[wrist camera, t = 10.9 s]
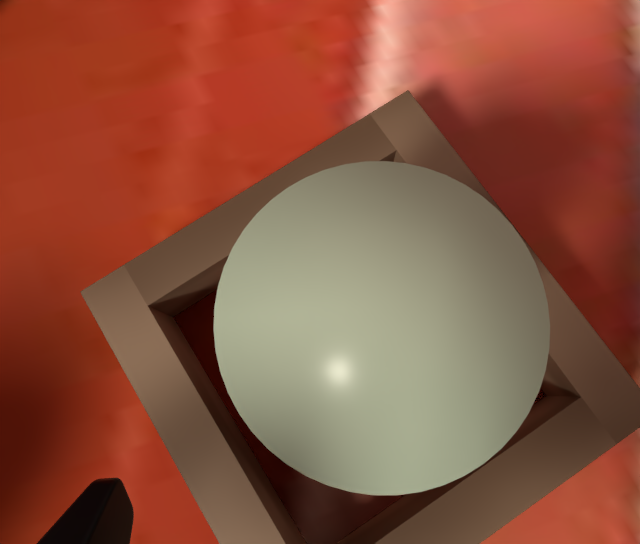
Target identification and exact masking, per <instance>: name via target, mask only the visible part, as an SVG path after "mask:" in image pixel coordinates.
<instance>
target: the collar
mask: <svg viewBox="0 0 640 544" xmlns="http://www.w3.org/2000/svg"><path fill="white" fill-rule="evenodd" d="M365 161H389V162H399V163H407V164H411V165H416V166H420V167H425V168H428V169H431V170H434V171H436V172H439V173H442V174H445V175H447V176H449V177H451V178H453V179H455V180H457V181H459V182H461V183H463V184H465V185H466V186H468V187H469V188H471V189H472V190H474V191H475V192H477V193H478V194H480V195H481V196H483V197H484V198H485V199H486V200H487V201H488V202H490V203H491V204H492V205H493V206H494V207H495V208H497V209H498V210H499V211H500V212H501V214H502V215H503V216H504V217H505V218H506V219H507V220H508V221H509V219H508V218H507V217H506V216H505V214H504V213H503V212H502V210H501V209H500V208H499V207H498V205H497V204H496V203H495V201H494V200H493V199H492V197H491V196H490V195H489V194H488V192H487V191H486V190H485V188H484V187H483V186H482V185H481V183H480V182H479V181H478V179H477V178H476V177H475V176H474V174H473V173H472V172H471V170H470V169H469V168H468V167H467V165H466V164H465V163H464V161H463V160H462V159H461V158H460V156H459V155H458V154H457V152H456V151H455V150H454V149H453V147H452V146H451V145H450V143H449V142H448V141H447V140H446V138H445V137H444V136H443V134H442V133H441V132H440V131H439V129H438V128H437V127H436V125H435V124H434V123H433V122H432V120H431V119H430V118H429V116H428V115H427V114H426V113H425V111H424V110H423V109H422V107H421V106H420V105H419V104H418V102H417V101H416V100H415V98H414V97H413V96H412V95H411V93H410V92H409V91H406V92H404V93H403V94H401V95H400V96H398V97H396V98H395V99H393V100H391V101H390V102H388V103H386V104H385V105H383V106H382V107H380V108H378V109H377V110H375V111H373V112H372V113H370V114H369V115H367V116H365V117H364V118H362V119H360V120H359V121H357V122H356V123H354V124H352V125H351V126H349V127H347V128H346V129H344V130H343V131H341V132H339V133H338V134H336V135H334V136H333V137H331V138H330V139H328V140H326V141H325V142H323V143H321V144H320V145H318V146H317V147H315V148H313V149H312V150H310V151H308V152H307V153H305V154H304V155H302V156H300V157H299V158H297V159H295V160H294V161H292V162H291V163H289V164H287V165H286V166H284V167H282V168H281V169H279V170H278V171H276V172H274V173H273V174H271V175H269V176H268V177H266V178H264V179H263V180H261V181H260V182H258V183H256V184H255V185H253V186H251V187H250V188H248V189H247V190H245V191H243V192H242V193H240V194H238V195H237V196H235V197H234V198H232V199H230V200H229V201H227V202H225V203H224V204H222V205H221V206H219V207H217V208H216V209H214V210H212V211H211V212H209V213H208V214H206V215H204V216H203V217H201V218H199V219H198V220H196V221H195V222H193V223H191V224H190V225H188V226H186V227H185V228H183V229H182V230H180V231H178V232H177V233H175V234H173V235H172V236H170V237H169V238H167V239H165V240H164V241H162V242H160V243H159V244H157V245H156V246H154V247H152V248H151V249H149V250H147V251H146V252H144V253H142V254H141V255H139V256H138V257H136V258H134V259H133V260H131V261H129V262H128V263H126V264H125V265H123V266H121V267H120V268H118V269H116V270H115V271H113V272H112V273H110V274H108V275H107V276H105V277H103V278H102V279H100V280H99V281H97V282H95V283H94V284H92V285H90V286H89V287H87V288H86V289H84V290H82V291H81V294H82V296H83V298H84V300H85V301H86V303H87V305H88V307H89V309H90V310H91V312H92V314H93V316H94V318H95V319H96V321H97V323H98V325H99V327H100V328H101V330H102V332H103V334H104V336H105V337H106V339H107V341H108V343H109V345H110V347H111V348H112V350H113V352H114V354H115V356H116V357H117V359H118V361H119V363H120V365H121V366H122V368H123V370H124V372H125V374H126V375H127V377H128V379H129V381H130V383H131V384H132V386H133V388H134V390H135V392H136V393H137V395H138V397H139V399H140V401H141V403H142V404H143V406H144V408H145V410H146V412H147V413H148V415H149V417H150V419H151V421H152V422H153V424H154V426H155V428H156V430H157V431H158V433H159V435H160V437H161V439H162V440H163V442H164V444H165V446H166V448H167V450H168V451H169V453H170V455H171V457H172V459H173V460H174V462H175V464H176V466H177V468H178V469H179V471H180V473H181V475H182V477H183V478H184V480H185V482H186V484H187V486H188V487H189V489H190V491H191V493H192V495H193V497H194V498H195V500H196V502H197V504H198V506H199V507H200V509H201V511H202V513H203V515H204V516H205V518H206V520H207V522H208V524H209V525H210V527H211V529H212V531H213V533H214V534H215V536H216V538H217V540H218V542H219V543H220V544H306V542H305V540H304V539H303V537H302V535H301V534H300V532H299V530H298V528H297V527H296V525H295V523H294V522H293V520H292V518H291V517H290V515H289V513H288V511H287V510H286V508H285V506H284V505H283V503H282V501H281V500H280V498H279V496H278V494H277V493H276V491H275V489H274V488H273V486H272V484H271V483H270V481H269V479H268V477H267V476H266V474H265V472H264V471H263V469H262V467H261V466H260V464H259V462H258V461H257V459H256V457H255V455H254V454H253V452H252V450H251V449H250V447H249V445H248V444H247V442H246V440H245V438H244V437H243V435H242V433H241V432H240V430H239V428H238V427H237V425H236V423H235V421H234V420H233V418H232V416H231V415H230V413H229V411H228V410H227V408H226V406H225V405H224V403H223V401H222V399H221V398H220V396H219V394H218V393H217V391H216V389H215V388H214V386H213V384H212V382H211V381H210V379H209V377H208V376H207V374H206V372H205V371H204V369H203V367H202V365H201V364H200V362H199V360H198V359H197V357H196V355H195V354H194V352H193V350H192V349H191V347H190V345H189V343H188V342H187V340H186V338H185V337H184V335H183V333H182V332H181V330H180V328H179V326H178V325H177V323H176V321H175V320H174V318H173V317H174V316H176V315H177V314H179V313H180V312H182V311H184V310H185V309H187V308H188V307H190V306H191V305H193V304H195V303H196V302H198V301H199V300H201V299H202V298H204V297H206V296H207V295H209V294H210V293H212V292H214V291H215V290H217V289H218V284H219V281H220V278H221V275H222V271H223V268H224V265H225V263H226V261H227V259H228V257H229V254H230V252H231V250H232V248H233V246H234V244H235V243H236V241H237V240H238V238H239V236H240V235H241V233H242V232H243V230H244V229H245V227H246V226H247V225H248V224H249V222H250V221H251V220H252V219H253V218H254V216H255V215H256V214H257V213H258V212H259V211H260V210H261V209H262V208H263V207H264V206H265V205H266V204H267V203H268V202H269V201H271V200H272V199H273V198H274V197H276V196H277V195H278V194H280V193H281V192H282V191H284V190H285V189H286V188H288V187H290V186H291V185H293V184H295V183H297V182H298V181H300V180H302V179H304V178H306V177H308V176H310V175H313V174H315V173H318V172H320V171H323V170H325V169H329V168H333V167H337V166H340V165H344V164H351V163H358V162H365ZM509 222H510V221H509ZM510 223H511V222H510ZM511 224H512V223H511ZM512 226H513V225H512ZM513 227H514V226H513ZM514 228H515V227H514ZM515 230H516V228H515ZM516 231H517V230H516ZM517 233H518V234H519V232H518V231H517ZM519 235H520V234H519ZM520 237H521V238H522V240H523V241H524V243H525V244H526V246H527V248H528V250H529V252H530V254H531V256H532V257H533V259H534V261H535V263H536V266H537V269H538V271H539V274H540V277H541V279H542V282H543V286H544V290H545V294H546V298H547V302H548V310H549V320H550V347H549V354H548V360H547V366H546V371H545V374H544V378H543V381H542V384H541V387H540V388H541V389H542V391H543V392H544V393H545V395H546V396H545V397H544V398H542V399H541V400H539V401H538V402H537V403H535V404H534V405H533V406H532V408H531V410H530V412H529V414H528V415H527V417H526V418H525V420H524V421H523V423H522V424H521V426H520V427H519V429H518V430H517V432H516V433H515V434H514V435H513V436H512V437H511V439H510V440H509V441H508V442H507V443H506V444H505V445H504V446H503V448H502V449H501V450H499V451H498V452H497V453H496V454H495V455H494V456H492V457H491V458H490V459H489V460H488V461H486V462H485V463H484V464H483V465H481V466H479V467H478V468H476V469H475V470H473V471H472V472H470V473H468V474H467V475H465V476H463V477H461V478H459V479H457V480H454V481H452V482H450V483H448V484H445V485H443V486H440V487H436V488H433V489H429V490H426V491H423V492H417V493H410V494H406V495H404V496H403V497H402V498H400V499H399V500H397V501H396V502H395V503H393V504H392V505H390V506H389V507H387V508H386V509H385V510H383V511H382V512H380V513H379V514H377V515H376V516H375V517H373V518H372V519H370V520H369V521H368V522H366V523H365V524H363V525H362V526H360V527H359V528H358V529H356V530H355V531H353V532H352V533H350V534H349V535H348V536H346V537H345V538H343V539H342V540H341V541H339V542H338V543H336V544H480V543H481V542H482V541H484V540H485V539H486V538H488V537H489V536H491V535H492V534H493V533H495V532H496V531H497V530H499V529H500V528H502V527H503V526H504V525H506V524H507V523H508V522H510V521H511V520H513V519H514V518H515V517H517V516H518V515H520V514H521V513H522V512H524V511H525V510H526V509H528V508H529V507H531V506H532V505H533V504H535V503H536V502H537V501H539V500H540V499H542V498H543V497H544V496H546V495H547V494H548V493H550V492H551V491H553V490H554V489H555V488H557V487H558V486H559V485H561V484H562V483H564V482H565V481H566V480H568V479H569V478H570V477H572V476H573V475H575V474H576V473H577V472H579V471H580V470H581V469H583V468H584V467H586V466H587V465H588V464H590V463H591V462H592V461H594V460H595V459H597V458H598V457H599V456H601V455H602V454H603V453H605V452H606V451H608V450H609V449H610V448H612V447H613V446H615V445H616V444H617V443H619V442H620V441H621V440H623V439H624V438H626V437H627V436H628V435H630V434H631V433H632V432H634V431H635V430H637V429H638V428H639V427H640V388H639V387H638V385H637V384H636V383H635V382H634V380H633V379H632V378H631V376H630V375H629V374H628V373H627V371H626V370H625V369H624V367H623V366H622V365H621V364H620V362H619V361H618V360H617V358H616V357H615V356H614V355H613V353H612V352H611V351H610V349H609V348H608V347H607V346H606V344H605V343H604V342H603V340H602V339H601V338H600V337H599V335H598V334H597V333H596V331H595V330H594V329H593V328H592V326H591V325H590V324H589V322H588V321H587V320H586V319H585V317H584V316H583V315H582V313H581V312H580V311H579V309H578V308H577V307H576V306H575V304H574V303H573V302H572V300H571V299H570V298H569V297H568V295H567V294H566V293H565V291H564V290H563V289H562V288H561V286H560V285H559V284H558V282H557V281H556V280H555V279H554V277H553V276H552V275H551V273H550V272H549V271H548V270H547V268H546V267H545V266H544V264H543V263H542V262H541V261H540V259H539V258H538V257H537V255H536V254H535V253H534V252H533V250H532V249H531V248H530V246H529V245H528V244H527V243H526V241H525V240H524V239H523V237H522V236H521V235H520Z"/></svg>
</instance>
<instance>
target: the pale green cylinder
mask: <svg viewBox="0 0 640 544" xmlns="http://www.w3.org/2000/svg"><path fill="white" fill-rule="evenodd" d="M213 330H214V340H215V351H216V355H217V360H218V364H219V369H220V373H221V376H222V378H223V381H224V384H225V386H226V389H227V392H228V394H229V396H230V398H231V400H232V402H233V404H234V406H235V407H236V409H237V411H238V413H239V415H240V416H241V417H242V419H243V420H244V422H245V423H246V424H247V426H248V427H249V429H250V430H251V431H252V433H253V434H254V435H255V436H256V437H257V438H258V439H259V440H260V441H261V442H262V443H263V444H264V446H265V447H266V448H267V449H268V450H270V451H271V452H272V453H273V454H274V455H276V456H277V457H278V458H279V459H281V460H282V461H283V462H284V463H285V464H287V465H289V466H290V467H292V468H293V469H295V470H297V471H298V472H300V473H302V474H303V475H305V476H307V477H309V478H311V479H314V480H316V481H318V482H320V483H323V484H325V485H327V486H331V487H334V488H338V489H341V490H345V491H348V492H353V493H361V494H368V495H403V494H410V493H417V492H423V491H426V490H429V489H433V488H436V487H440V486H443V485H445V484H448V483H450V482H452V481H454V480H457V479H459V478H461V477H463V476H465V475H467V474H468V473H470V472H472V471H473V470H475V469H476V468H478V467H479V466H481V465H483V464H484V463H485V462H486V461H488V460H489V459H490V458H491V457H492V456H494V455H495V454H496V453H497V452H498V451H499V450H501V449H502V448H503V446H504V445H505V444H506V443H507V442H508V441H509V440H510V439H511V437H512V436H513V435H514V434H515V433H516V432H517V430H518V429H519V427H520V426H521V424H522V423H523V421H524V420H525V418H526V417H527V415H528V414H529V412H530V410H531V408H532V406H533V404H534V401H535V399H536V397H537V395H538V393H539V390H540V387H541V384H542V381H543V378H544V374H545V371H546V366H547V360H548V354H549V347H550V320H549V310H548V302H547V298H546V294H545V290H544V286H543V282H542V279H541V277H540V274H539V271H538V269H537V266H536V263H535V261H534V259H533V257H532V256H531V254H530V252H529V250H528V248H527V246H526V244H525V243H524V241H523V240H522V238H521V237H520V235H519V234H518V233H517V231H516V230H515V228H514V227H513V226H512V224H511V223H510V222H509V221H508V220H507V219H506V218H505V217H504V216H503V215H502V214H501V212H500V211H499V210H498V209H497V208H495V207H494V206H493V205H492V204H491V203H490V202H488V201H487V200H486V199H485V198H484V197H483V196H481V195H480V194H478V193H477V192H475V191H474V190H472V189H471V188H469V187H468V186H466V185H465V184H463V183H461V182H459V181H457V180H455V179H453V178H451V177H449V176H447V175H445V174H442V173H439V172H436V171H434V170H431V169H428V168H425V167H420V166H416V165H411V164H407V163H399V162H389V161H365V162H358V163H351V164H344V165H340V166H337V167H333V168H329V169H325V170H323V171H320V172H318V173H315V174H313V175H310V176H308V177H306V178H304V179H302V180H300V181H298V182H297V183H295V184H293V185H291V186H290V187H288V188H286V189H285V190H284V191H282V192H281V193H280V194H278V195H277V196H276V197H274V198H273V199H272V200H271V201H269V202H268V203H267V204H266V205H265V206H264V207H263V208H262V209H261V210H260V211H259V212H258V213H257V214H256V215H255V216H254V218H253V219H252V220H251V221H250V222H249V224H248V225H247V226H246V227H245V229H244V230H243V232H242V233H241V235H240V236H239V238H238V240H237V241H236V243H235V244H234V246H233V248H232V250H231V252H230V254H229V257H228V259H227V261H226V263H225V265H224V268H223V271H222V275H221V278H220V281H219V284H218V289H217V295H216V301H215V306H214V328H213Z"/></svg>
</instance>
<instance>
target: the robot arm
mask: <svg viewBox="0 0 640 544" xmlns="http://www.w3.org/2000/svg"><path fill="white" fill-rule="evenodd" d="M133 515H134V514H133V507H132V504H131V501H130V499H129V497H128V494H127V492H126V490H125V487H124V485H123V483H122V481H121V480H120V479H119V478H105V479H97V480H95V481H93V482H92V483H91V484H90V485H89V486H88V487H87V488H86V489H85V490H84V492H83V493H82V494H81V495H80V496H79V497H78V498H77V499H76V500H75V502H74V503H73V504H72V505H71V506H70V507H69V508H68V509H67V511H66V512H65V513H64V514H63V515H62V516H61V517H60V518H59V519H58V521H57V522H56V523H55V524H54V525H53V526H52V527H51V528H50V529H49V531H48V532H47V533H46V534H45V535H44V536H43V537H42V538H41V539H40V541H39V542H38V543H37V544H130V538H131V531H132V525H133Z"/></svg>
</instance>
